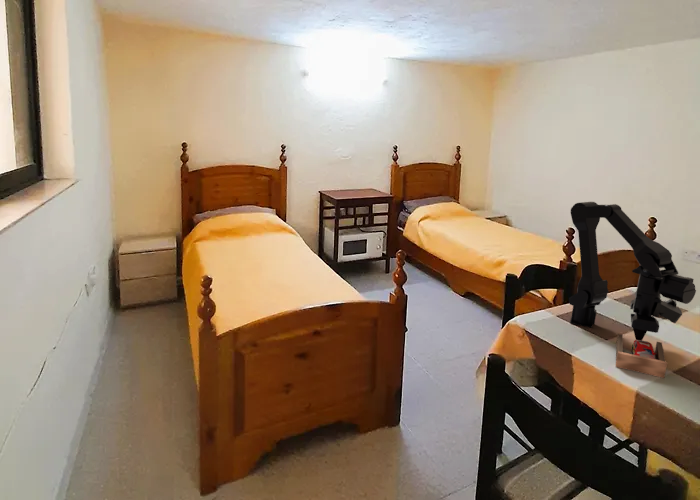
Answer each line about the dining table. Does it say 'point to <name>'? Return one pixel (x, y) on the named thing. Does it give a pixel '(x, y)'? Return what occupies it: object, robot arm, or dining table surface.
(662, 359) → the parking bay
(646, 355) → the race car
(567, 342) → the dining table surface
